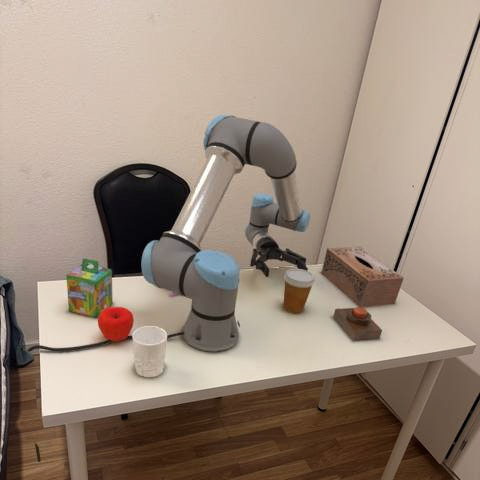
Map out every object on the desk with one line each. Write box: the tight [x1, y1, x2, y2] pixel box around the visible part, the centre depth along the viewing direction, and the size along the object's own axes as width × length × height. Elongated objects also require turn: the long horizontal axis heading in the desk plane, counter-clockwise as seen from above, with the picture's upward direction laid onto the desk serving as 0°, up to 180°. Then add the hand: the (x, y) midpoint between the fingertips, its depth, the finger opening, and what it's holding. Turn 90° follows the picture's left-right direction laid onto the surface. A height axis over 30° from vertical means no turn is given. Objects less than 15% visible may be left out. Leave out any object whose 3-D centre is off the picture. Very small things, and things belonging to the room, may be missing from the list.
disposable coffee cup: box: [283, 268, 316, 314], centre depth 136 cm, size 10×10×12 cm
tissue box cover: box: [321, 246, 405, 308], centre depth 155 cm, size 26×14×10 cm, turn 21°
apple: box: [97, 306, 135, 342], centre depth 113 cm, size 9×9×8 cm
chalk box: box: [65, 258, 114, 319], centre depth 122 cm, size 9×9×15 cm
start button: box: [353, 306, 369, 318], centre depth 131 cm, size 4×4×2 cm
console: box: [332, 307, 383, 342], centre depth 132 cm, size 9×13×5 cm
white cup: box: [131, 325, 168, 378], centre depth 103 cm, size 8×8×10 cm
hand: (287, 272), depth 142 cm, fingers open, 13 cm apart
